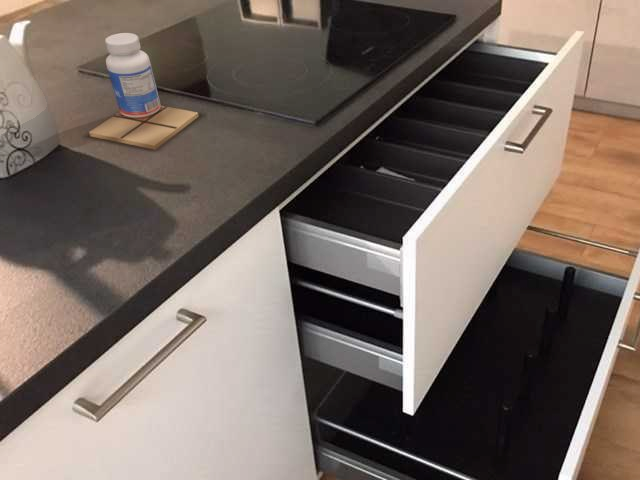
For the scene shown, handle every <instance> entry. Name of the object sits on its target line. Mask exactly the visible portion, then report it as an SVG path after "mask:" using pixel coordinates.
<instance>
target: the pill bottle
mask: <svg viewBox="0 0 640 480" xmlns="http://www.w3.org/2000/svg"><path fill="white" fill-rule="evenodd" d="M104 41H105V46H106V50H107V52H108V53H109V54H108V56H107V57H106V58H105V65H106V69H107V72H108V76H109V79H110V83H111V86H112V89H113V93H114V96H115V99H116V100H115V101H116V103H117V107H118V109H119V112H121V113H122V114H123V115H124V116H127V117H132V118H141V117H147V116H150V115H153V114H154V113H156V112H157V111H158V110H159V109H160V106H162V105H161V101H160V98H159V97H160V96H159V93H158V89H157V84H156V81H155V77H154V72H153V68H152V64H151V61H150V56H149V55H148V54H147V53H146V52H145V51H143V50H141V43H140V39H139V36H138V35H137V34H135V33H132V32H121V33H115V34H111V35H108V36H107V37H106V38H105V39H104Z"/></svg>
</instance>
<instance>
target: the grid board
mask: <svg viewBox="0 0 640 480" xmlns="http://www.w3.org/2000/svg"><path fill="white" fill-rule="evenodd" d="M199 115H200V114H199V112H197V111H192V110H187V109H182V108H181V109H180V108H175V107H172V106H171V107H170V106H167V105H161V106H160V109H159V110H158V111H157V112H156V113H154V114H153V115H150V116H147V117H141V118H132V117H127V116H124V115H123V114H122V113H121V112H120V111H119V112H117V113H116V114H114V115H112V116H111V117H110V118H109V119H107V120H105V121H104V122H102V123H101V124H99V125H98V126H96V127H94V128H93V129H91V130H90V131H88V134H89V137H93V138H98V139H102V140H107V141H111V142H116V143H121V144H126V145H131V146H136V147H140V148H146V149H150V150H157V149H158V148H159V147H161V146H162V145H163V144H165V143H166V142H167V141H168V140H170V139H171V138H172V137H174V136H175V135H176V134H178V133H179V132H180V131H182V130H183V129H184V128H186V127H187V126H188V125H189V124H191V123H192V122H194V121H195V120H197V118H198V117H200V116H199Z"/></svg>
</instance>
